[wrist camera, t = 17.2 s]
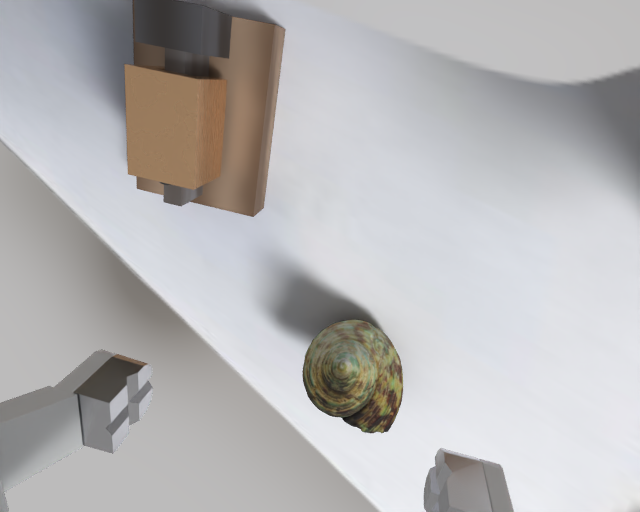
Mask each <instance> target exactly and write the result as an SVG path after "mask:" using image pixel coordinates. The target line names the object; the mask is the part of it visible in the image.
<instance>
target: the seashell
mask: <svg viewBox="0 0 640 512" xmlns="http://www.w3.org/2000/svg"><path fill="white" fill-rule="evenodd" d="M303 382H304V386H305V389H306V392H307V394H308V397H309V398H310V400H311V401H312V403H313V404H314V405H315V406H316V407H317V408H318V409H319V410H321V411H322V412H324V413H326V414H328V415H329V416H333V417H341V418H342V419H343V420H344V421H345V422H346V423H348V424H349V425H351V426H354V427H358V428H360V429H361V431H362V432H367V433H375V432H381V433H384V432H387V431H388V430H389V429H390V427H391V425H392V424H393V422H394V420H395V418H396V415H397V413H398V410H399V407H400V405H401V401H402V393H403V374H402V366H401V361H400V358H399V356H398V354H397V352H396V349H395V348H394V346H393V344H392V342H391V341H390V339H389V338H388V337H387V336H386V335H385V334H384V333H383V332H382V331H381V330H380V329H378V328H375V327H374V326H373V325H372V324H370V323H368V322H366V321H362V320H346V321H341V322H337V323H334V324H332V325H330V326H329V327H327V328H325V329H324V330H322V331H321V332H320V333H319V334H318V335H317V337H316V338H315V339H314V340H313V341H312V343H311V345H310V346H309V348H308V350H307V353H306V355H305V361H304V366H303Z"/></svg>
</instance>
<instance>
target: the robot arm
mask: <svg viewBox="0 0 640 512" xmlns="http://www.w3.org/2000/svg"><path fill="white" fill-rule="evenodd" d="M151 376H152V366H151V365H149V364H147V363H144V362H141V361H137V360H134V359H131V358H128V357H125V356H122V355H119V354H115V353H111V352H108V351H105V350H99V351H96V352H94V353H93V354H92V355H91V356H90V357H89V358H87V359H86V360H85V361H84V362H83V363H82V364H80V365H79V366H78V367H77V368H76V369H75V370H74V371H72V372H71V373H70V374H69V375H68V376H67V377H65V378H64V379H63V380H62V381H61V382H60V383H58V384H57V385H56V386H55V387H51V386H47V387H45V388H42V389H39V390H36V391H33V392H31V393H27V394H25V395H22V396H19V397H16V398H13V399H10V400H7V401H4V402H2V403H0V512H8V511H9V508H8V505H7V501H6V497H5V493H4V492H6V491H7V490H9V489H11V488H13V487H14V486H16V485H18V484H20V483H21V482H23V481H25V480H27V479H28V478H30V477H32V476H33V475H35V474H37V473H39V472H40V471H42V470H44V469H46V468H47V467H49V466H51V465H53V464H55V463H56V462H58V461H60V460H62V459H63V458H65V457H67V456H68V455H70V454H72V453H73V452H75V451H77V450H79V449H80V448H82V447H83V445H84V446H88V447H92V448H95V449H99V450H103V451H106V452H109V453H114V452H115V451H116V449H117V448H118V447H119V446H120V444H121V443H122V442H123V441H124V439H125V438H126V437H127V436H128V434H129V425H131V424H133V423H135V422H137V421H139V420H140V419H141V418H142V416H143V415H144V414H145V412H146V411H147V408H148V406H149V404H150V402H151V398H152V394H153V393H152V389H153V387H152V386H151V384H150V383H149V381H148V380H149V379H150V377H151ZM435 465H436V466H435V467H433V468H431V469H430V470H429V473H428V475H427V478H426V483H425V488H424V508H425V510H426V512H514V510H513V506H512V502H511V499H510V495H509V491H508V487H507V483H506V479H505V475H504V472H503V468H502V467H501V466H500V464H496V463H493V462H489V461H485V460H482V459H478V458H475V457H471V456H468V455H464V454H461V453H457V452H453V451H450V450H446V449H443V448H440V449H439V450H438V452H437V454H436V456H435Z"/></svg>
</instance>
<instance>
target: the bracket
mask: <svg viewBox="0 0 640 512" xmlns="http://www.w3.org/2000/svg"><path fill="white" fill-rule="evenodd" d="M284 36H285V29H284V28H282V27H279V26H277V25H275V24H269V23H264V22H259V21H253V20H248V19H243V18H237V17H232V16H229V15H227V14H224V13H222V12H219V11H216V10H214V9H211V8H208V7H206V6H203V5H198V4H193V3H187V2H182V1H177V0H133V39H134V65H146V66H162V67H165V70H167V71H172V72H177V73H182V74H186V75H191V76H198V77H216V78H221V79H226V80H227V92H226V106H225V120H224V134H223V149H222V163H221V176H220V177H218V178H216V179H214V180H212V181H210V182H208V183H206V184H204V185H202V186H200V187H198V188H196V189H194V190H192V189H188V188H184V187H180V186H175V185H164V184H161V183H159V181H155V180H150V179H146V178H142V177H138V176H137V189H140V190H144V191H148V192H153V193H157V194H161V195H164V202H165V203H169V204H174V205H178V206H182V205H184V204H186V203H188V202H194V203H198V204H202V205H206V206H210V207H215V208H219V209H223V210H227V211H231V212H235V213H239V214H243V215H248V216H252V217H254V216H255V215H256V214H257V213H258V212H259V211H261V210H262V209H263V208H264V200H265V192H266V184H267V176H268V168H269V159H270V151H271V143H272V135H273V126H274V118H275V110H276V102H277V94H278V85H279V77H280V69H281V61H282V52H283V44H284Z"/></svg>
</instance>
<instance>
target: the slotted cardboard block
mask: <svg viewBox="0 0 640 512" xmlns="http://www.w3.org/2000/svg"><path fill="white" fill-rule="evenodd" d="M226 92H227V80H226V79H221V78H216V77H198V76H191V75H186V74H182V73H177V72H172V71H167V70H165V67H162V66H146V65H131V64H125V96H126V128H127V160H128V174H129V175H134V176H138V177H142V178H146V179H150V180H155V181H159V183H161V184H164V185H175V186H180V187H184V188H188V189H192V190H194V189H196V188H198V187H200V186H202V185H204V184H206V183H208V182H210V181H212V180H214V179H216V178H218V177H220V176H221V163H222V149H223V134H224V120H225V106H226Z"/></svg>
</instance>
